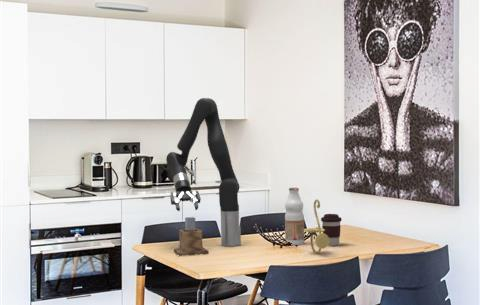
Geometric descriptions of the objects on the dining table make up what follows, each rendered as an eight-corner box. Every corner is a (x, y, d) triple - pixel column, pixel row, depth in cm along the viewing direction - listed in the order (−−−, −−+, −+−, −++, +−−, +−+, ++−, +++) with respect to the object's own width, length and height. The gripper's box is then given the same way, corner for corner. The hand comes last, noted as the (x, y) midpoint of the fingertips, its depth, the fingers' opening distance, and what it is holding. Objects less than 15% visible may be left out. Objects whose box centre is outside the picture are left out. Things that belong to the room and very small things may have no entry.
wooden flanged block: (202, 249, 292) (202, 227, 292) (208, 253, 280) (208, 231, 280) (173, 251, 288) (173, 229, 288) (178, 256, 276) (178, 233, 276)
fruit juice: (284, 245, 300) (283, 188, 299) (286, 242, 309) (285, 187, 309) (303, 245, 298) (302, 188, 298) (305, 242, 307) (304, 187, 307)
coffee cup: (344, 243, 300) (343, 213, 300) (338, 247, 291) (338, 216, 291) (324, 242, 304) (324, 213, 304) (318, 246, 295) (318, 215, 295)
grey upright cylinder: (193, 238, 287) (193, 217, 286) (195, 239, 283) (195, 218, 283) (185, 238, 285) (185, 217, 285) (187, 239, 282) (186, 218, 281)
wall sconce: (332, 255, 270) (331, 199, 270) (312, 257, 268) (311, 200, 267) (320, 250, 284) (319, 197, 283) (301, 251, 281) (300, 198, 281)
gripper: (168, 179, 295) (174, 205, 284) (197, 178, 299) (203, 203, 288) (167, 190, 300) (172, 215, 289) (195, 188, 304) (201, 213, 293)
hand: (187, 209), depth 289 cm, fingers open, 8 cm apart
